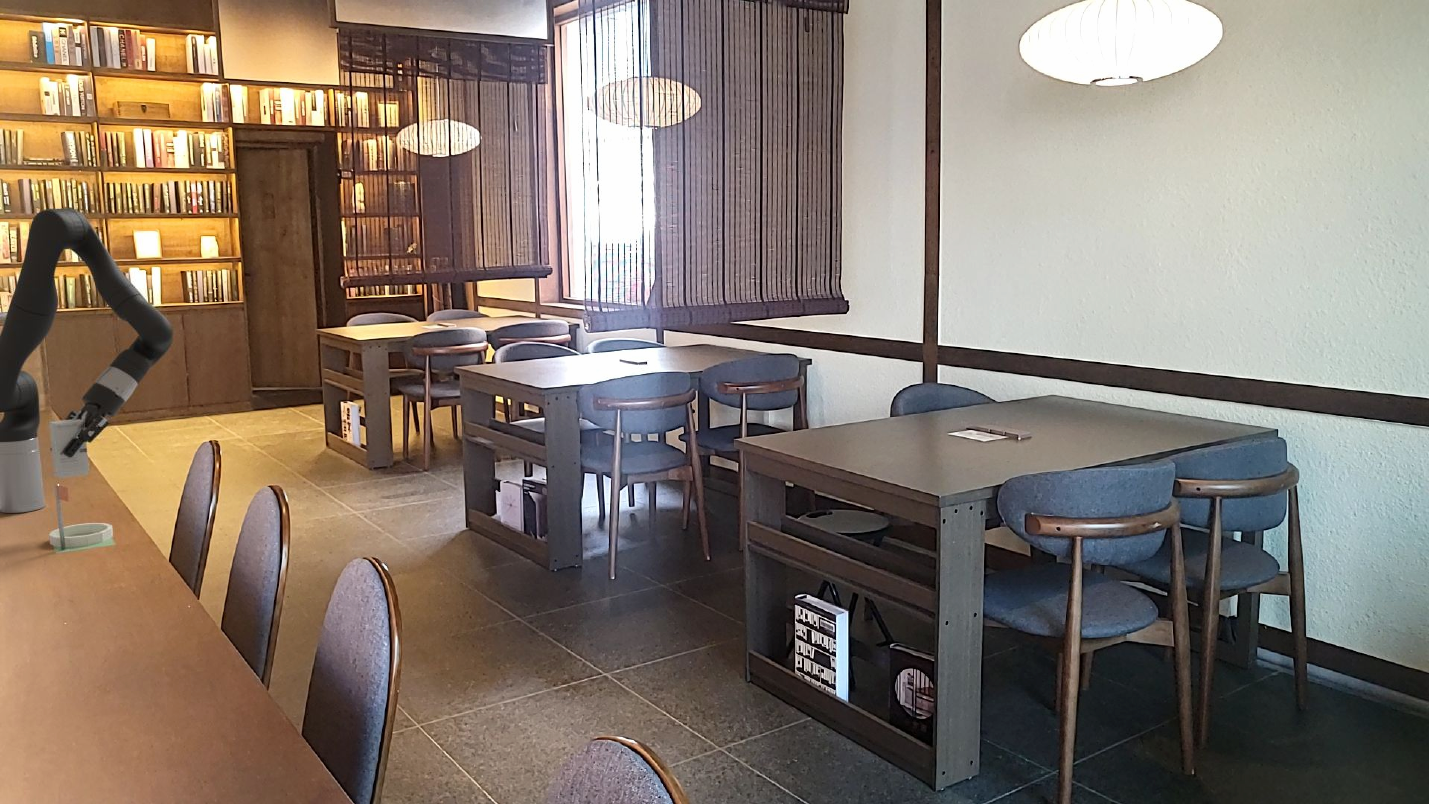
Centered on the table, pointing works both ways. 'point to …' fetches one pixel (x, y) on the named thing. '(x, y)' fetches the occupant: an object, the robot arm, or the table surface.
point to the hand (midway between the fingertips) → (60, 453)
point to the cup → (99, 530)
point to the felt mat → (96, 545)
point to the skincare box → (59, 440)
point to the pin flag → (61, 495)
